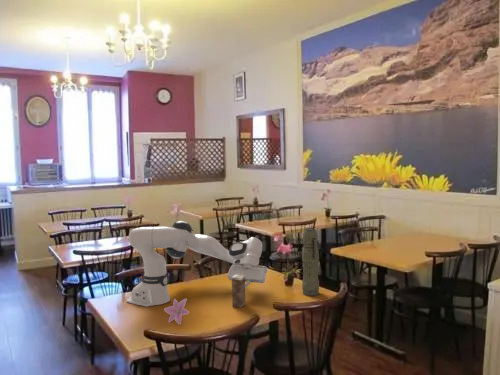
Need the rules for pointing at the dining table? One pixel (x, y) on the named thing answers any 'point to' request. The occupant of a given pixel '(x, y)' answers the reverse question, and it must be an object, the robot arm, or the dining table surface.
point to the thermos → (310, 263)
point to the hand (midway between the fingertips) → (243, 288)
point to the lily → (177, 310)
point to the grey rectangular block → (238, 291)
